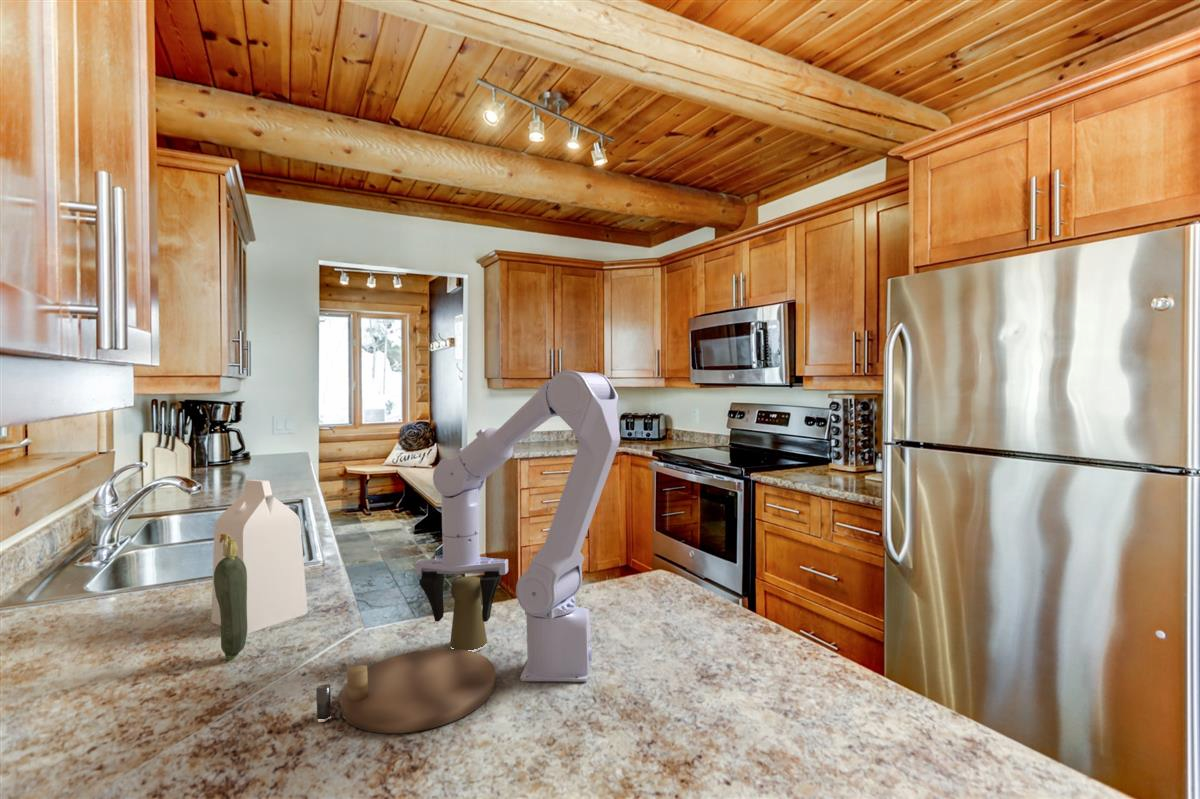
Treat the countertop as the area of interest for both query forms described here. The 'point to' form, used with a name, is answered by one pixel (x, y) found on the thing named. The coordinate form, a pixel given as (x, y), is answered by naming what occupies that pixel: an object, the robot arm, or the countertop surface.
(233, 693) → the countertop surface
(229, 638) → the vegetable
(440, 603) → the robot arm
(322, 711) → the dark gray cylinder
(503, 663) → the countertop surface
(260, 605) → the milk
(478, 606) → the olive pawn piece
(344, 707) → the disc
